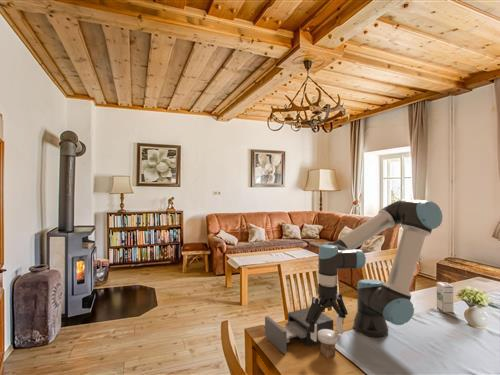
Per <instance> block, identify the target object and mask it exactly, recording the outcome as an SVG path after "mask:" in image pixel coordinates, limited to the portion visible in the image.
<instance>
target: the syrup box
mask: <svg viewBox="0 0 500 375" xmlns="http://www.w3.org/2000/svg"><path fill="white" fill-rule="evenodd" d="M436 308H437V309H438V310H440V311H441V312H443V313H454V308H455V307H454V285H452V284H450V283H448V282H446V281H437V282H436Z"/></svg>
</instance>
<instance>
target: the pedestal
mask: <svg viewBox="0 0 500 375" xmlns="http://www.w3.org/2000/svg"><path fill="white" fill-rule="evenodd" d="M320 353H321V354H322V355H323V356H324V357H326V358H331V357H333V356H335V355H336V344H332V345H329V344H324V343H322V342H321V343H320Z"/></svg>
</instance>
